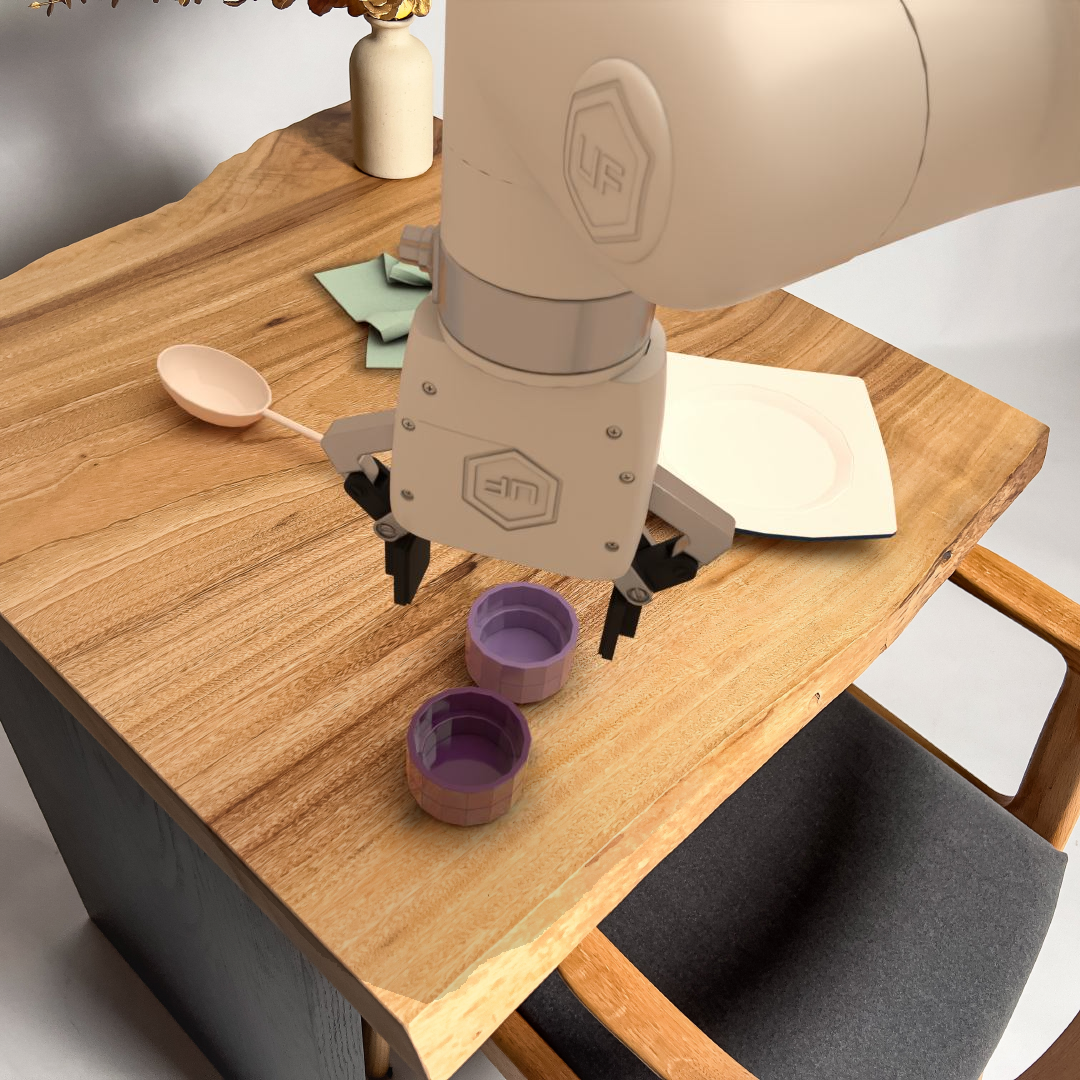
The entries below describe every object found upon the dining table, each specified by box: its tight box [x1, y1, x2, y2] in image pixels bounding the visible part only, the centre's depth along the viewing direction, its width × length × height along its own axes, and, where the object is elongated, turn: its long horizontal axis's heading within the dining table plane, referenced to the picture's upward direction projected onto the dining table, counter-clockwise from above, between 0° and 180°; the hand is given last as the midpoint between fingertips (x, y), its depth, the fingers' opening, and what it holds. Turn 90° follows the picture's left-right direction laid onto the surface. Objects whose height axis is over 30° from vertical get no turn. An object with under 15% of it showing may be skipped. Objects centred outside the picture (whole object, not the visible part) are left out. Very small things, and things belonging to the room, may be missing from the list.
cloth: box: [313, 251, 433, 370], centre depth 88 cm, size 20×22×2 cm
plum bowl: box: [405, 685, 533, 827], centre depth 55 cm, size 7×7×4 cm
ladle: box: [156, 343, 391, 471], centre depth 73 cm, size 6×28×5 cm, turn 61°
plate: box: [658, 351, 898, 543], centre depth 77 cm, size 20×20×3 cm
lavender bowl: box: [464, 580, 580, 704], centre depth 61 cm, size 7×7×4 cm
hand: (510, 609), depth 46 cm, fingers open, 9 cm apart
